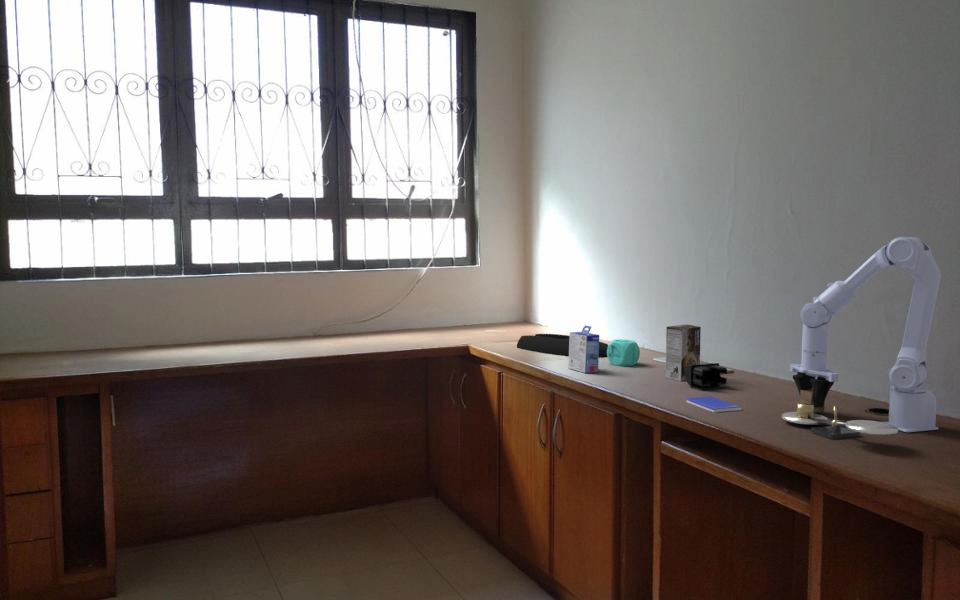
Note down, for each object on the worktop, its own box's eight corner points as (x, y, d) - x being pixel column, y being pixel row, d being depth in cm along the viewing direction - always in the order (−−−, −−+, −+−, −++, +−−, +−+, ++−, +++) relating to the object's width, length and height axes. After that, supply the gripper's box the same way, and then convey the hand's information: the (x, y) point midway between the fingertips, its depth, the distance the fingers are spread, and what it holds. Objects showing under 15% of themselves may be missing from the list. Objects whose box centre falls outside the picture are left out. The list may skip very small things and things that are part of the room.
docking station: (586, 361, 266) (587, 347, 265) (505, 348, 296) (506, 335, 295) (630, 354, 283) (630, 340, 282) (549, 342, 312) (549, 330, 312)
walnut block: (812, 408, 193) (813, 389, 192) (824, 412, 189) (825, 392, 188) (799, 409, 191) (800, 389, 191) (810, 413, 188) (811, 393, 187)
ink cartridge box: (599, 372, 244) (600, 327, 242) (585, 373, 241) (586, 328, 240) (581, 367, 252) (582, 324, 251) (567, 368, 250) (568, 325, 248)
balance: (806, 417, 186) (808, 391, 185) (908, 450, 158) (910, 420, 157) (772, 419, 183) (773, 393, 182) (869, 454, 155) (871, 424, 154)
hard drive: (741, 406, 193) (712, 396, 205) (713, 408, 190) (686, 397, 202) (741, 412, 193) (712, 401, 205) (713, 414, 191) (685, 403, 202)
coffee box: (683, 374, 240) (684, 324, 239) (700, 378, 235) (701, 326, 234) (664, 378, 235) (665, 326, 233) (681, 381, 230) (682, 328, 228)
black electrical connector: (711, 383, 226) (712, 361, 226) (727, 388, 220) (728, 365, 219) (684, 386, 223) (684, 363, 222) (699, 391, 216) (700, 367, 216)
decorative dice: (624, 367, 253) (625, 343, 252) (606, 363, 259) (606, 340, 259) (639, 364, 258) (640, 341, 257) (621, 361, 264) (622, 338, 264)
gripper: (780, 347, 194) (779, 399, 196) (822, 356, 181) (819, 412, 182) (803, 346, 196) (801, 398, 198) (846, 355, 183) (843, 410, 184)
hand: (811, 405), depth 190 cm, fingers closed on walnut block, 4 cm apart
